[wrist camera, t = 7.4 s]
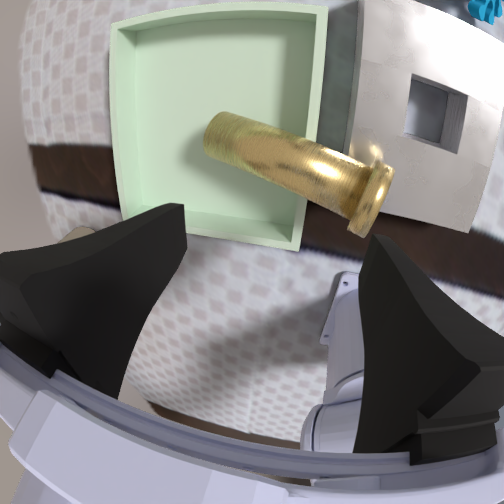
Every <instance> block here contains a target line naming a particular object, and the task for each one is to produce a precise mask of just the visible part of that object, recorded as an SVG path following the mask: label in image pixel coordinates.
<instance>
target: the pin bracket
mask: <svg viewBox="0 0 504 504" xmlns="http://www.w3.org/2000/svg"><path fill="white" fill-rule="evenodd" d="M411 79H414V80H417V81H420V82H423V83H426V84H428V85H431V86H434V87H437V88H439V89H442V90H444V91H447V92H449V93H448V100H447V107H446V113H445V119H444V124H443V129H442V134H441V139H440V144H438V143H435V142H432V141H429V140H426V139H423V138H420V137H417V136H413V135H410V134H407V133H403V129H404V124H405V118H406V112H407V105H408V99H409V91H410V83H411ZM503 103H504V44H502V43H501V42H499V41H498V40H496V39H494V38H493V37H491V36H489V35H488V34H486V33H484V32H482V31H481V30H479V29H477V28H475V27H473V26H471V25H469V24H467V23H465V22H463V21H461V20H459V19H457V18H455V17H453V16H451V15H449V14H446V13H444V12H442V11H440V10H437V9H435V8H432V7H430V6H427V5H425V4H422V3H419V2H417V1H414V0H358V18H357V35H356V49H355V60H354V71H353V80H352V89H351V98H350V106H349V113H348V120H347V127H346V134H345V141H344V147H343V153H342V154H344V155H346V156H349V157H351V158H353V159H355V160H357V161H359V162H361V163H364V164H366V165H368V166H370V167H372V168H374V167H375V165H376V162H377V160H379V161H381V162H383V163H385V164H387V165H389V166H391V167H393V168H395V173H394V177H393V180H392V182H391V185H390V188H389V190H388V193H387V195H386V197H385V200H384V202H383V204H382V206H381V208H380V211H379V212H384V213H389V214H393V215H398V216H402V217H407V218H411V219H415V220H419V221H423V222H428V223H432V224H436V225H440V226H443V227H447V228H451V229H455V230H459V231H462V232H466V233H468V232H469V230H470V227H471V225H472V222H473V220H474V217H475V214H476V212H477V209H478V206H479V203H480V200H481V197H482V194H483V191H484V188H485V185H486V182H487V178H488V175H489V171H490V168H491V164H492V160H493V156H494V152H495V147H496V143H497V138H498V133H499V128H500V123H501V117H502V110H503Z"/></svg>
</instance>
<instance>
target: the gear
mask: <svg viewBox="0 0 504 504" xmlns="http://www.w3.org/2000/svg"><path fill="white" fill-rule="evenodd" d="M502 1H504V0H502ZM468 10H469V12H470V14H471V16H472V17H474V18H476V19H478V20H480V21H485V22H487V23H489V24H491V25H493V23H494V15H495V16H497V17H500V16H501V15H502V7H501V1H500V0H472V1H470V2H469V3H468Z"/></svg>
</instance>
